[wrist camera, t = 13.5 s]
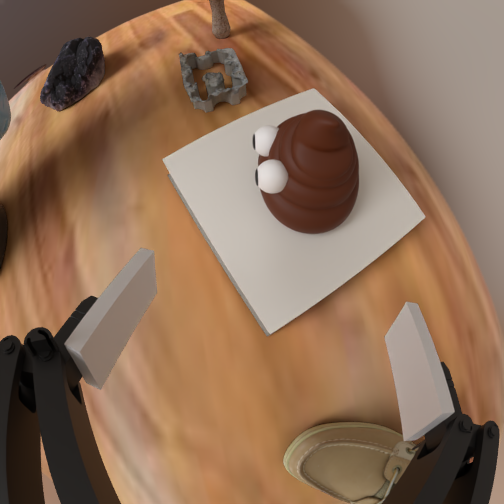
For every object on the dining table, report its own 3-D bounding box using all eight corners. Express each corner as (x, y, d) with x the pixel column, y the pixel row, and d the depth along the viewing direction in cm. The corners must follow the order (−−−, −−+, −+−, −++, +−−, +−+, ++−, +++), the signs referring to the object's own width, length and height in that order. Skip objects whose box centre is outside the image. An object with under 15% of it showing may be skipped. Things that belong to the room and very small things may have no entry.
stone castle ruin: (182, 71, 32) (176, 51, 28) (232, 60, 33) (230, 39, 29) (191, 118, 30) (184, 96, 26) (251, 104, 30) (251, 81, 26)
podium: (169, 178, 27) (158, 158, 23) (308, 108, 30) (314, 85, 26) (266, 336, 24) (269, 339, 20) (409, 230, 26) (429, 218, 22)
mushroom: (216, 54, 33) (205, -28, 18) (188, 39, 34) (173, -32, 19) (255, 37, 34) (255, -38, 19) (225, 23, 35) (220, -43, 21)
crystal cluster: (38, 117, 32) (10, 89, 23) (74, 62, 34) (54, 32, 24) (88, 117, 33) (59, 80, 23) (125, 58, 34) (109, 19, 25)
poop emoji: (359, 235, 22) (416, 186, 13) (257, 240, 22) (260, 185, 12) (338, 137, 24) (368, 67, 15) (250, 137, 24) (249, 59, 15)
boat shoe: (266, 463, 21) (270, 509, 13) (317, 395, 22) (342, 425, 15) (420, 502, 18) (448, 528, 10) (459, 451, 19) (495, 468, 11)
